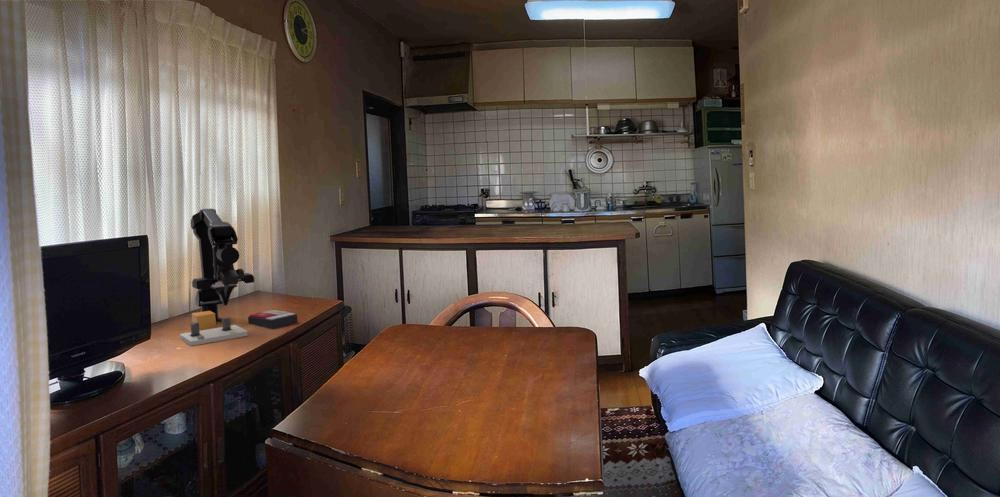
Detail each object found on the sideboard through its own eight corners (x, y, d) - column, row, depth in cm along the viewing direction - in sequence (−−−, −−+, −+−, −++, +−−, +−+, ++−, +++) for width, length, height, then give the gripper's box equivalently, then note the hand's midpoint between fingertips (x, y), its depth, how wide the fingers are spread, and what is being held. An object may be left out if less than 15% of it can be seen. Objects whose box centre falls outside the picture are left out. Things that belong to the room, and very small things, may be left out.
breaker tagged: (221, 329, 200) (220, 318, 200) (229, 328, 202) (228, 317, 202) (224, 331, 198) (223, 319, 198) (231, 329, 200) (231, 318, 200)
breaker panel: (180, 338, 195) (179, 332, 194) (235, 328, 207) (234, 323, 207) (190, 346, 186) (190, 339, 186) (247, 335, 198) (247, 329, 198)
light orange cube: (192, 329, 206) (191, 313, 205) (210, 326, 210) (209, 310, 209) (198, 333, 201) (196, 316, 201) (216, 329, 205) (215, 313, 205)
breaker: (190, 335, 193) (189, 323, 193) (198, 333, 195) (197, 322, 195) (192, 336, 192) (191, 324, 191) (200, 335, 193) (200, 323, 193)
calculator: (273, 309, 224) (297, 312, 215) (274, 319, 224) (298, 323, 216) (247, 314, 215) (271, 318, 206) (248, 325, 215) (272, 329, 207)
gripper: (200, 266, 185) (203, 313, 187) (259, 260, 198) (261, 305, 200) (190, 262, 193) (193, 307, 195) (247, 257, 206) (249, 299, 208)
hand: (225, 305), depth 199 cm, fingers closed
